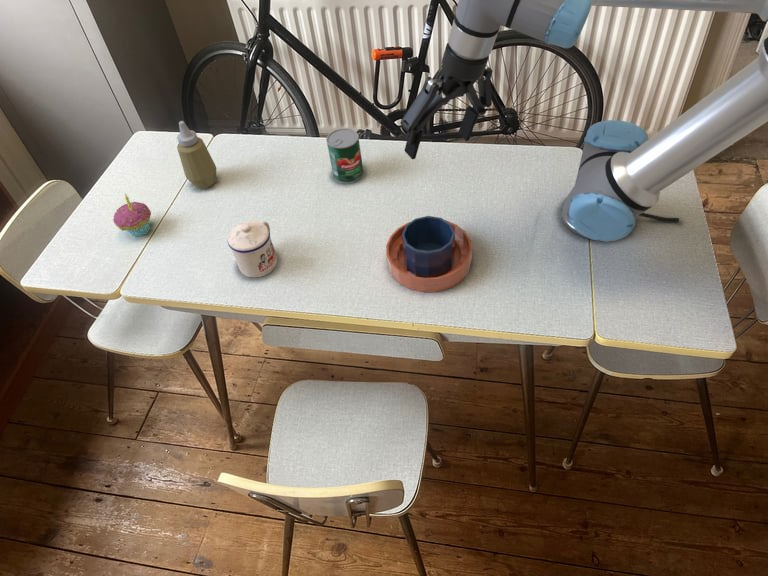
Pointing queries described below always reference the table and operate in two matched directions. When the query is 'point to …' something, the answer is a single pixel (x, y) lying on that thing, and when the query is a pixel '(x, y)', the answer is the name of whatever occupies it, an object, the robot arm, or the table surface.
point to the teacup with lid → (253, 248)
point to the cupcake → (133, 218)
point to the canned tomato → (345, 155)
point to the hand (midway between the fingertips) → (437, 145)
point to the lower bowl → (434, 283)
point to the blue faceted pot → (428, 247)
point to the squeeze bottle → (195, 158)
